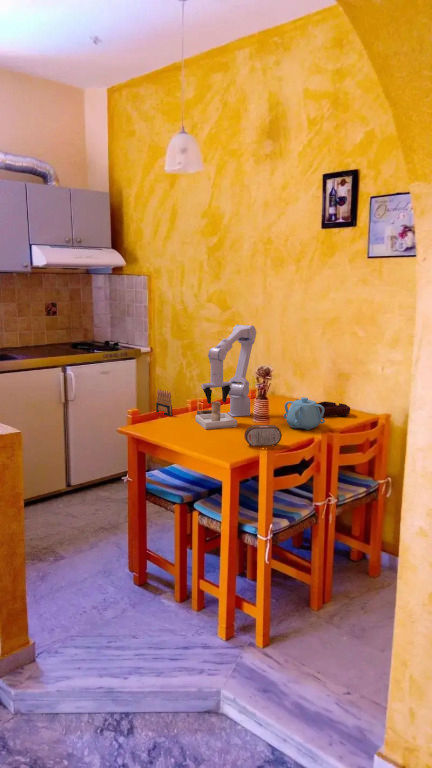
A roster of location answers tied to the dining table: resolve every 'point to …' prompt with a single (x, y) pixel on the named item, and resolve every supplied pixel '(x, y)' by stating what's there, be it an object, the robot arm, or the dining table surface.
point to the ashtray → (334, 409)
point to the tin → (263, 435)
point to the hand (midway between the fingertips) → (216, 402)
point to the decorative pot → (304, 414)
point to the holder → (204, 412)
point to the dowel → (216, 411)
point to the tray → (223, 423)
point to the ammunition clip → (164, 402)
